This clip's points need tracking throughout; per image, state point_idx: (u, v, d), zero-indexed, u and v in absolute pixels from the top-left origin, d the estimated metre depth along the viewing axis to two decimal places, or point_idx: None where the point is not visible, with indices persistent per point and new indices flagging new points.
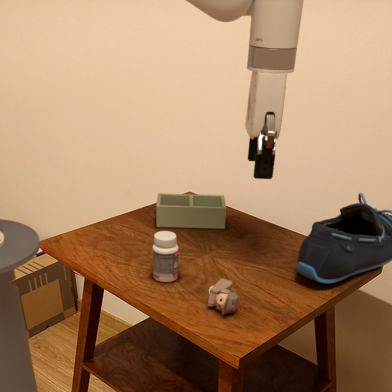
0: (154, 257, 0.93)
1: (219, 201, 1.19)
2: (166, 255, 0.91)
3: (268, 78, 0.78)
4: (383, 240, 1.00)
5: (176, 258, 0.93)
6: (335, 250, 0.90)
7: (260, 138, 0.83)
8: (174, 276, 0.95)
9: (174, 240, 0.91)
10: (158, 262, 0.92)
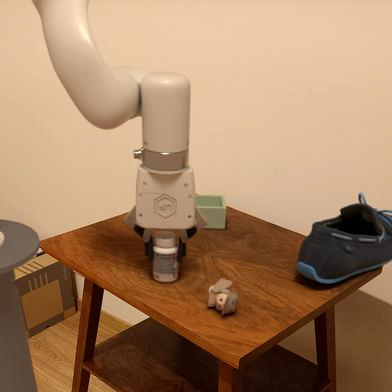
0: (154, 257, 0.93)
1: (219, 201, 1.19)
2: (166, 255, 0.91)
3: (193, 173, 0.84)
4: (383, 240, 1.00)
5: (176, 258, 0.93)
6: (335, 250, 0.90)
7: (185, 229, 0.90)
8: (174, 276, 0.95)
9: (174, 240, 0.91)
10: (158, 262, 0.92)
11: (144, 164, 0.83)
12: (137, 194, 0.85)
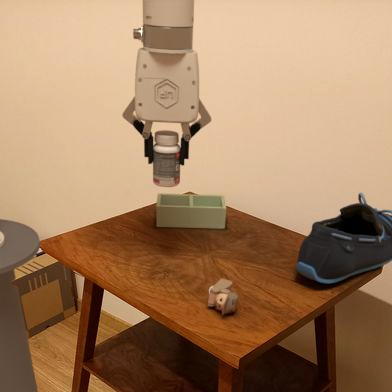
0: (154, 158, 0.86)
1: (219, 201, 1.19)
2: (167, 154, 0.85)
3: (197, 56, 0.78)
4: (383, 240, 1.00)
5: (178, 160, 0.87)
6: (335, 250, 0.90)
7: (188, 124, 0.83)
8: (175, 181, 0.89)
9: (176, 138, 0.85)
10: (159, 163, 0.86)
11: (144, 44, 0.76)
12: (136, 79, 0.78)
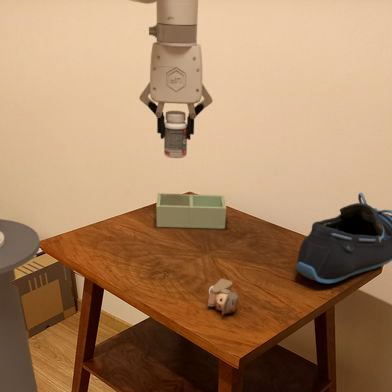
0: (165, 133, 1.05)
1: (219, 201, 1.19)
2: (176, 130, 1.03)
3: (200, 49, 0.96)
4: (383, 240, 1.00)
5: (185, 135, 1.05)
6: (335, 250, 0.90)
7: (193, 105, 1.02)
8: (183, 153, 1.07)
9: (183, 116, 1.03)
10: (169, 138, 1.04)
11: (158, 39, 0.95)
12: (151, 68, 0.97)
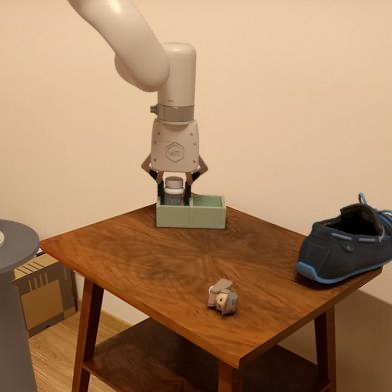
0: (165, 197, 1.14)
1: (219, 201, 1.19)
2: (175, 195, 1.12)
3: (197, 125, 1.05)
4: (383, 240, 1.00)
5: (183, 198, 1.14)
6: (335, 250, 0.90)
7: (190, 173, 1.11)
8: None
9: (181, 183, 1.12)
10: (168, 201, 1.13)
11: (158, 117, 1.03)
12: (152, 142, 1.06)
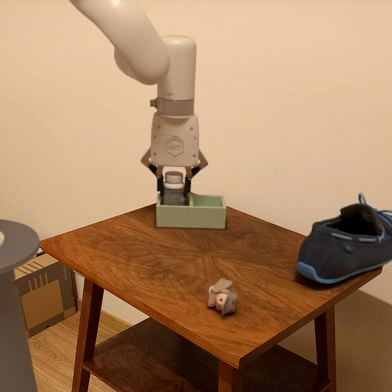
0: (164, 192, 1.13)
1: (219, 201, 1.19)
2: (174, 189, 1.12)
3: (197, 119, 1.04)
4: (383, 240, 1.00)
5: (182, 193, 1.13)
6: (335, 250, 0.90)
7: (190, 167, 1.10)
8: None
9: (181, 177, 1.11)
10: (168, 196, 1.13)
11: (158, 111, 1.03)
12: (152, 136, 1.05)
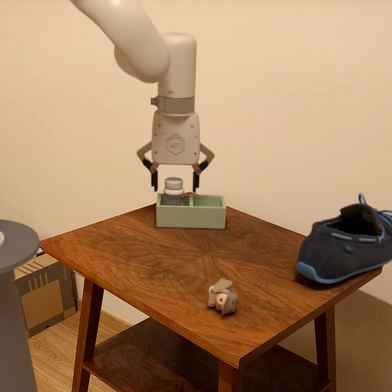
0: (164, 198, 1.14)
1: (219, 201, 1.19)
2: (174, 195, 1.12)
3: (198, 117, 1.04)
4: (383, 240, 1.00)
5: (182, 199, 1.14)
6: (335, 250, 0.90)
7: None
8: None
9: (181, 183, 1.12)
10: (168, 202, 1.13)
11: (159, 109, 1.03)
12: (153, 134, 1.05)
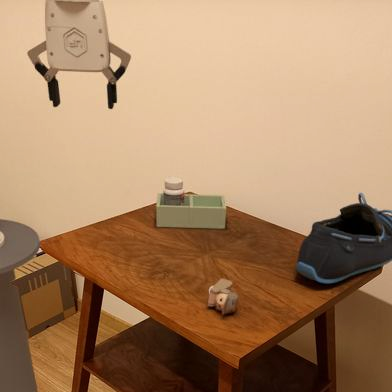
0: (164, 198, 1.14)
1: (219, 201, 1.19)
2: (174, 195, 1.12)
3: (103, 6, 0.82)
4: (383, 240, 1.00)
5: (182, 199, 1.14)
6: (335, 250, 0.90)
7: (107, 68, 0.87)
8: None
9: (181, 183, 1.12)
10: (168, 202, 1.13)
11: None
12: (46, 29, 0.82)
